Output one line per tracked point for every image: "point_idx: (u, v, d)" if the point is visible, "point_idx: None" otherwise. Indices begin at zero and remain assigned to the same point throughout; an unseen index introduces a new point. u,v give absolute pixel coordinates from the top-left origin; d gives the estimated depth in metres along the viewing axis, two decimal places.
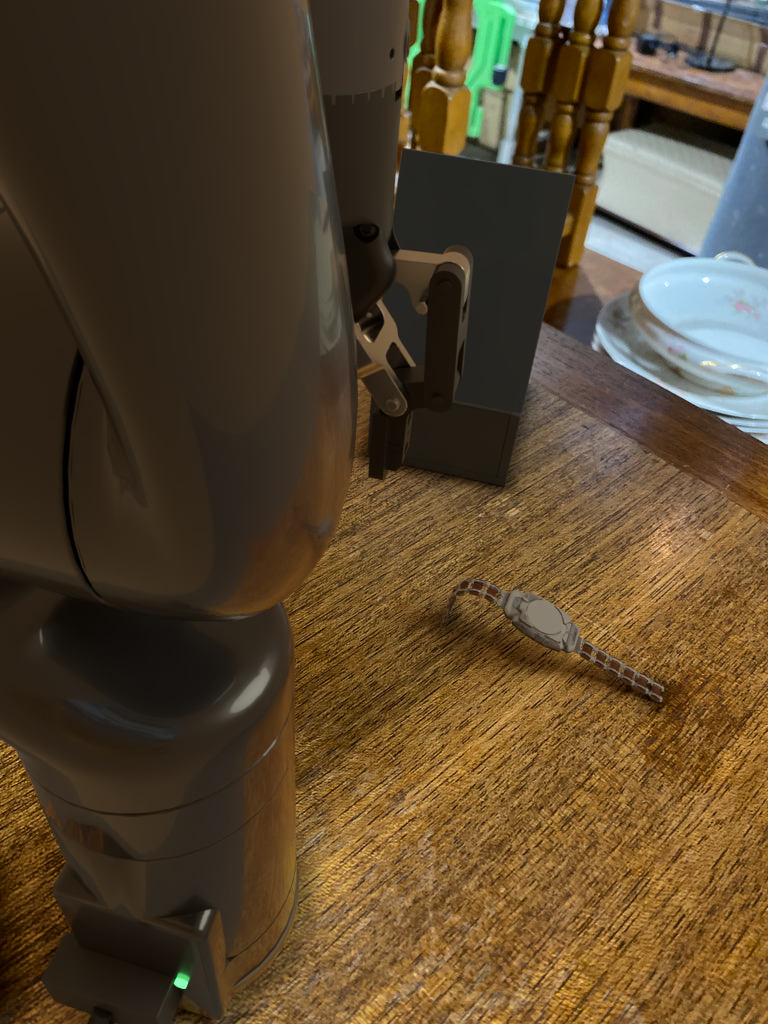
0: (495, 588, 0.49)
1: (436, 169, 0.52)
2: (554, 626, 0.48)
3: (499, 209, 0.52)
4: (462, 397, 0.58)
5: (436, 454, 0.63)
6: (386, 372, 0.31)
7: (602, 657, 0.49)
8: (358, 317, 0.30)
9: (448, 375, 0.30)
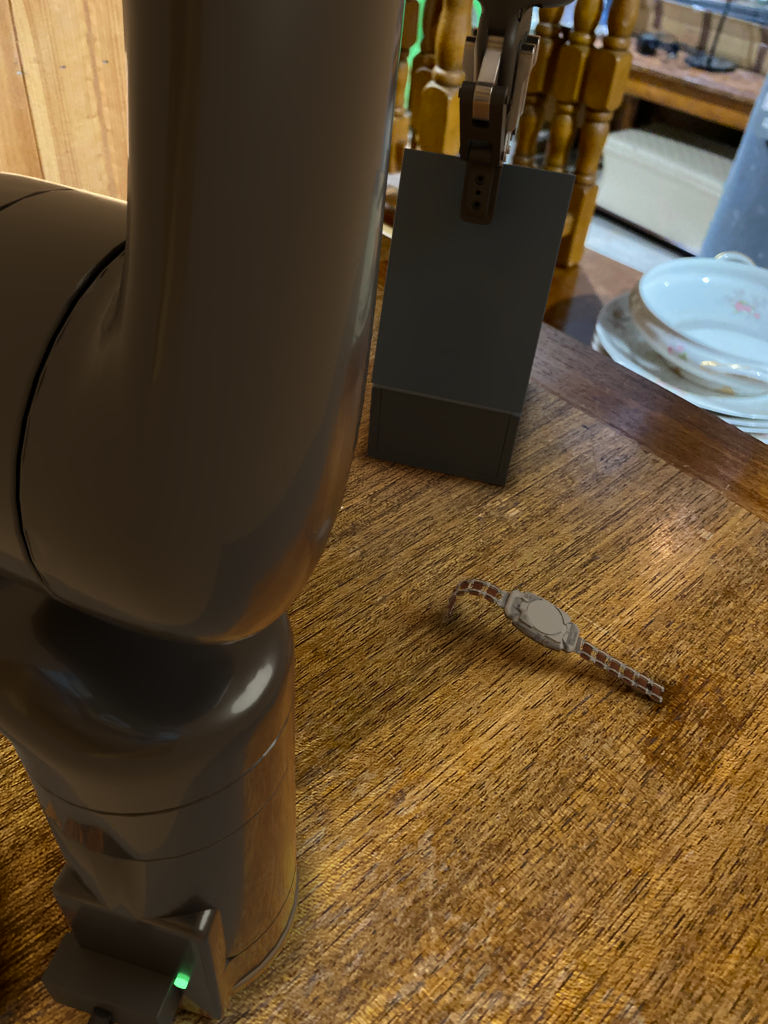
0: (495, 588, 0.49)
1: (438, 169, 0.53)
2: (554, 626, 0.48)
3: (500, 208, 0.53)
4: (462, 397, 0.58)
5: (436, 454, 0.63)
6: None
7: (602, 657, 0.49)
8: (476, 80, 0.44)
9: None
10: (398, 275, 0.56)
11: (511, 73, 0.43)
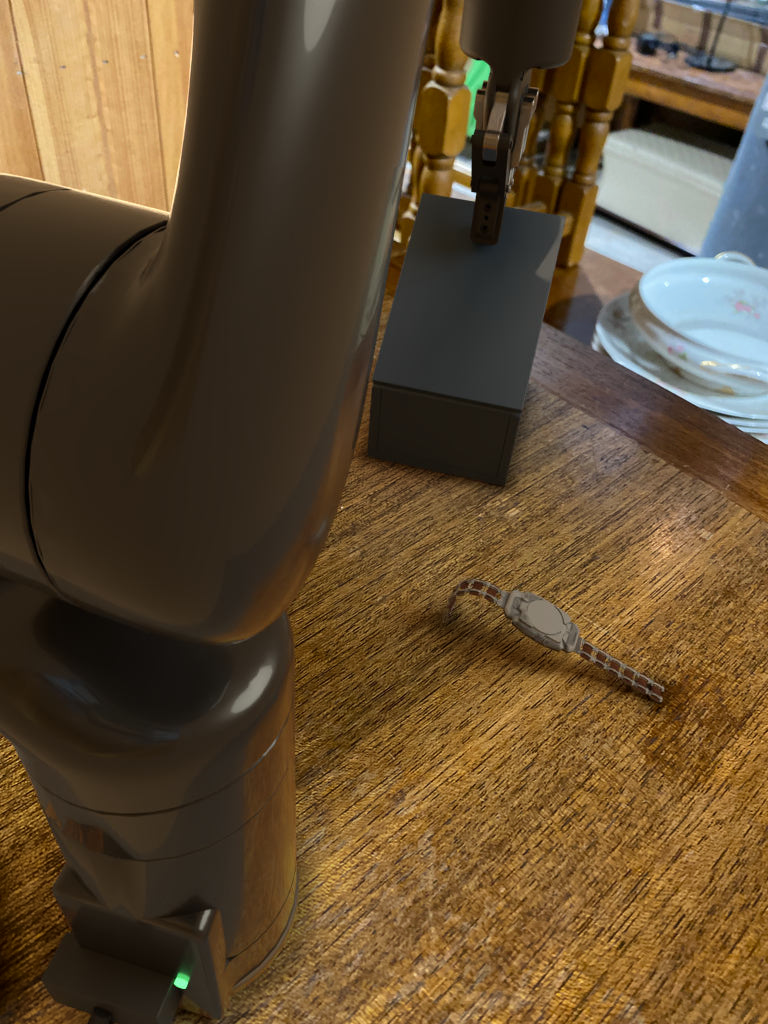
0: (495, 588, 0.49)
1: (450, 208, 0.62)
2: (554, 626, 0.48)
3: (502, 237, 0.61)
4: (463, 394, 0.58)
5: (436, 454, 0.63)
6: None
7: (602, 657, 0.49)
8: (485, 127, 0.53)
9: None
10: (408, 286, 0.61)
11: (514, 121, 0.52)
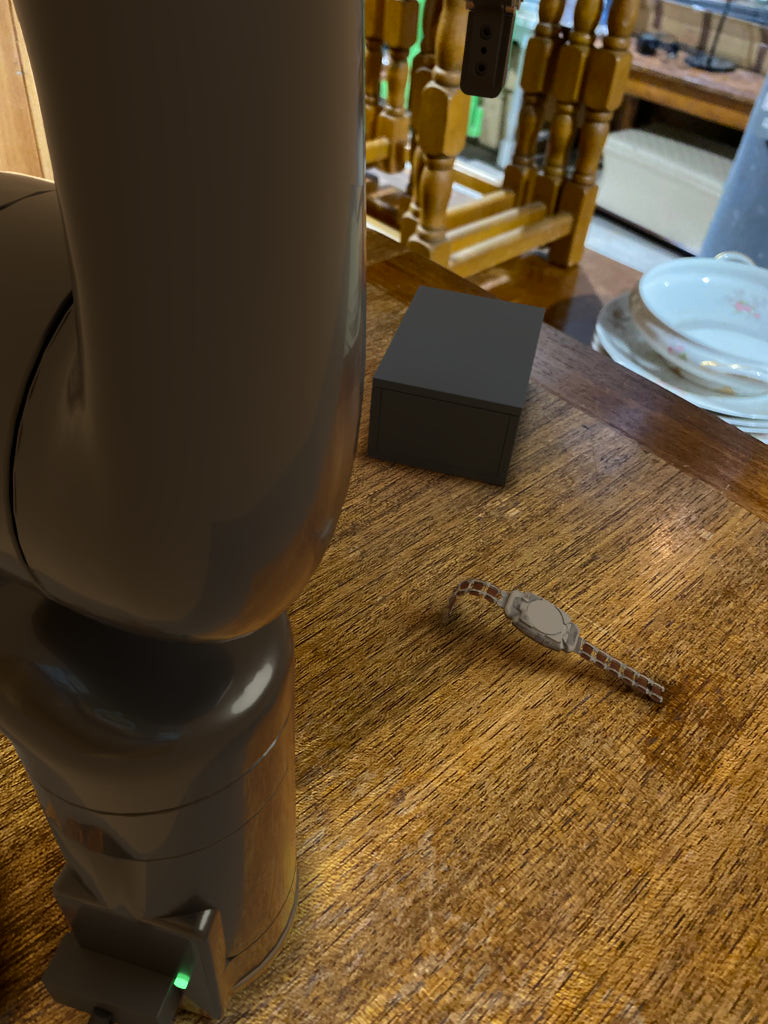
0: (495, 588, 0.49)
1: (444, 294, 0.70)
2: (554, 626, 0.48)
3: (492, 313, 0.68)
4: (463, 393, 0.59)
5: (436, 454, 0.63)
6: None
7: (602, 657, 0.49)
8: None
9: None
10: (408, 329, 0.65)
11: None
